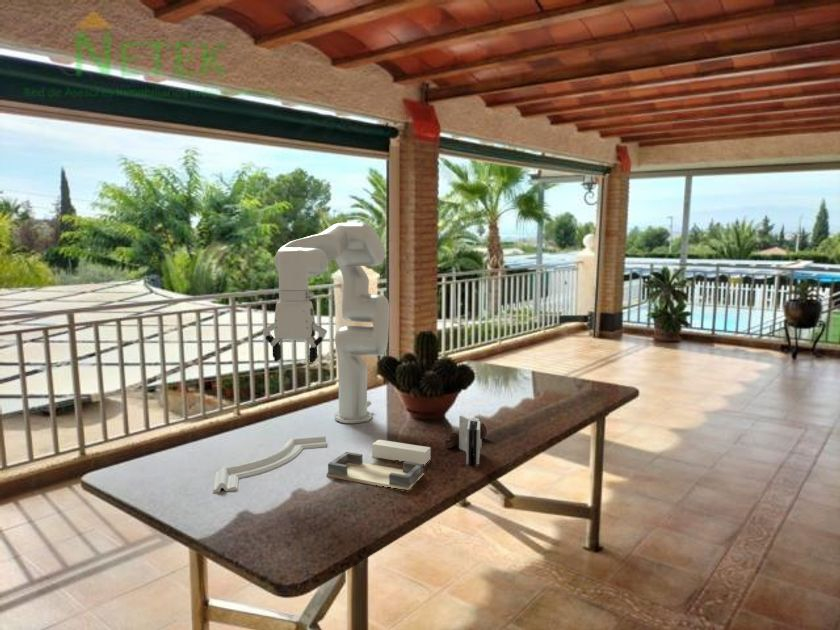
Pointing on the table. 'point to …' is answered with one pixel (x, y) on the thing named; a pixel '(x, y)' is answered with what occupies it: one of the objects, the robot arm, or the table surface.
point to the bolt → (454, 437)
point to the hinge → (470, 438)
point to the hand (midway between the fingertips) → (295, 360)
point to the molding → (265, 462)
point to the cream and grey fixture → (374, 472)
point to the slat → (401, 451)
